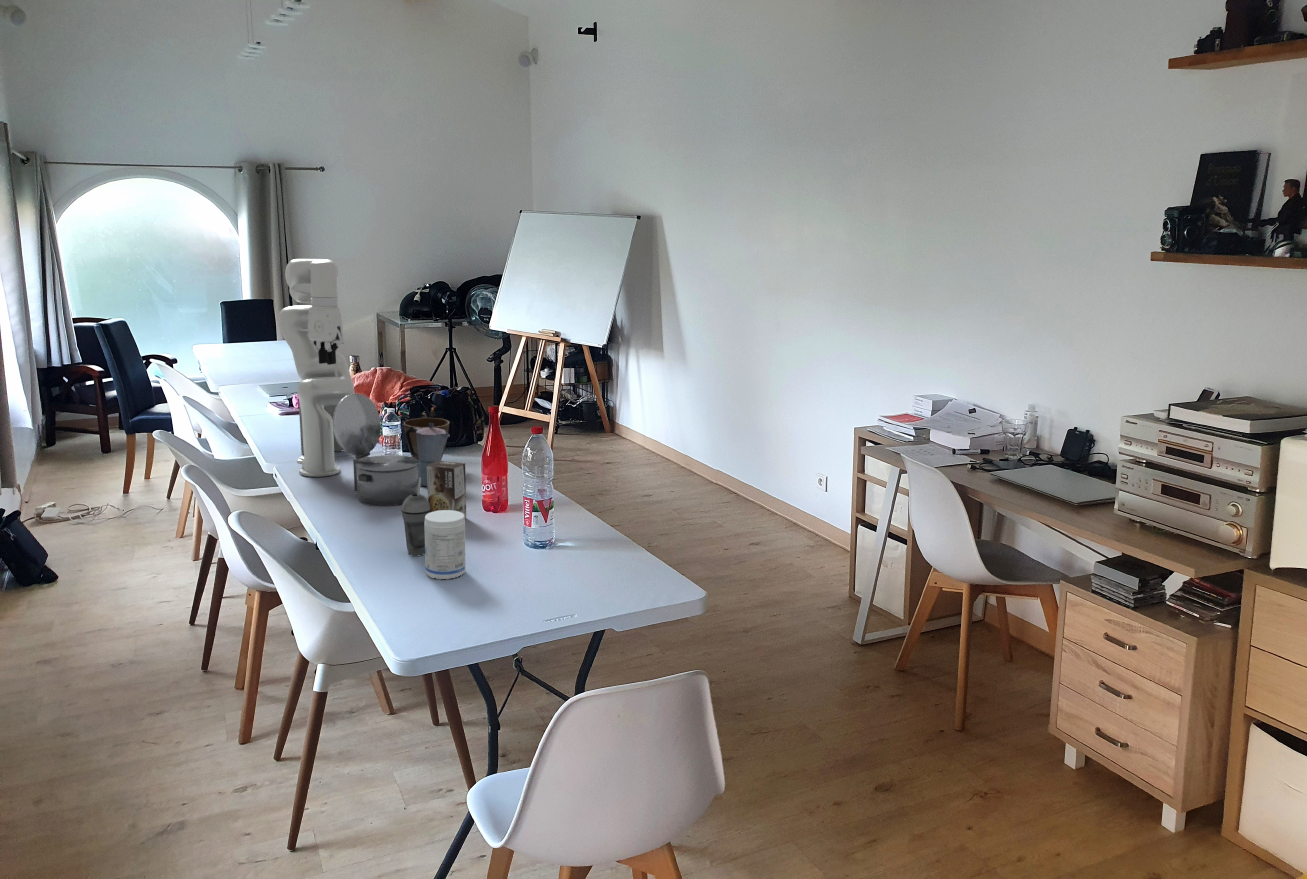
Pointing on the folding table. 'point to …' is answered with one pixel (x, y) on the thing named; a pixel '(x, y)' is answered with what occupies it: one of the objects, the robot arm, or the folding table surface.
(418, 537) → the beverage cup
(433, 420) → the plant pot
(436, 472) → the coffee box
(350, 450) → the lid
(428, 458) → the moka pot
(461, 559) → the supplement tub
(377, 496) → the cooking pot
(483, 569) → the folding table surface
